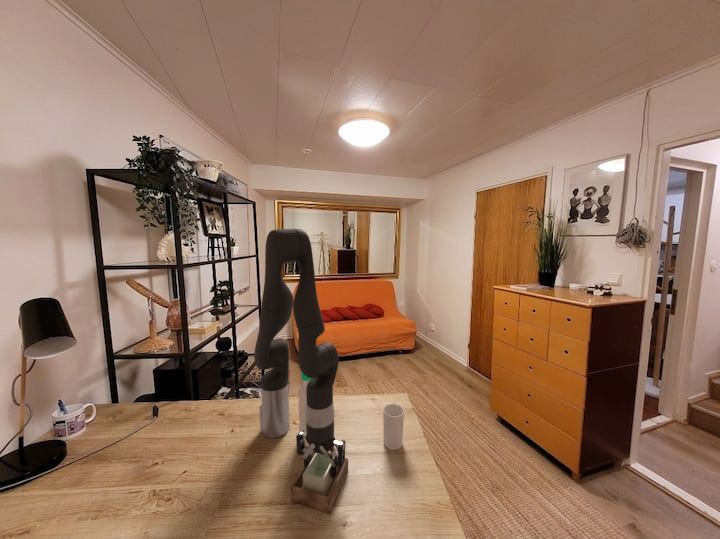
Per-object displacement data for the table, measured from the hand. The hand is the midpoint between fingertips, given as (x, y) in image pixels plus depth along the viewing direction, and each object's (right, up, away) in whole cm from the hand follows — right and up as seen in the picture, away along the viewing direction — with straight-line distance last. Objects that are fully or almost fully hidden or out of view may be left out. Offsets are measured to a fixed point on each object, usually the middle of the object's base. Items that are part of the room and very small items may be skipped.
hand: (321, 471), depth 75 cm
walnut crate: (0, -4, +1) cm, 4 cm away
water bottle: (-6, -2, +17) cm, 18 cm away
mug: (+22, -2, +18) cm, 28 cm away
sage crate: (0, -4, 0) cm, 4 cm away
